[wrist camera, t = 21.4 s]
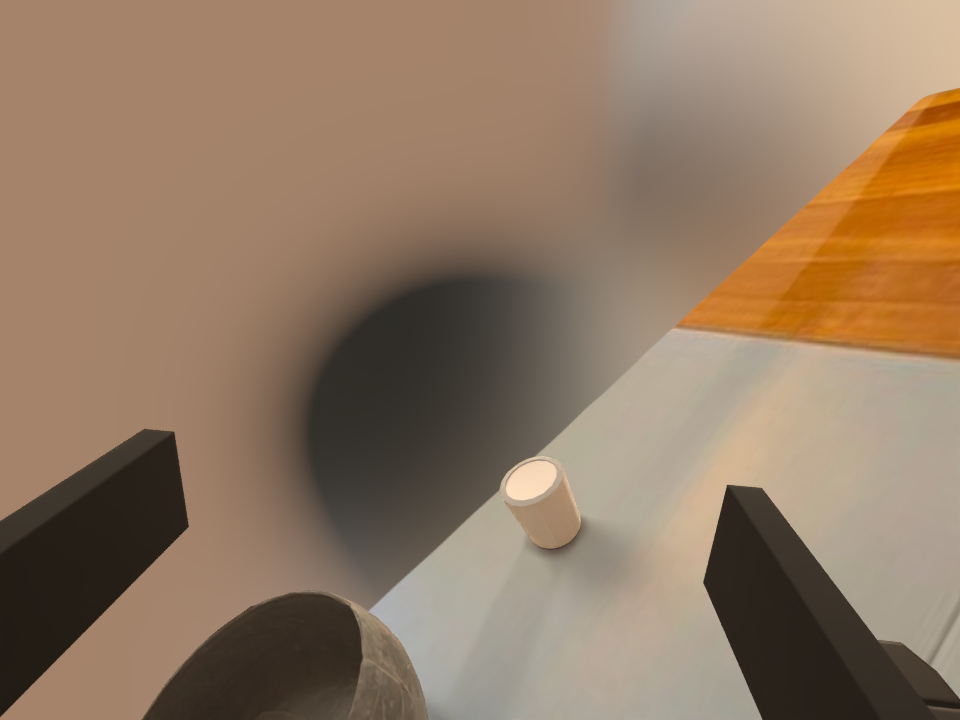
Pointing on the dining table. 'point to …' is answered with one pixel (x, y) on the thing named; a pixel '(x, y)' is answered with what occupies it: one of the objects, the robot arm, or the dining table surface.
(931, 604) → the dining table surface
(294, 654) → the bowl
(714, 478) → the dining table surface
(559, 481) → the beige tapered cylinder
